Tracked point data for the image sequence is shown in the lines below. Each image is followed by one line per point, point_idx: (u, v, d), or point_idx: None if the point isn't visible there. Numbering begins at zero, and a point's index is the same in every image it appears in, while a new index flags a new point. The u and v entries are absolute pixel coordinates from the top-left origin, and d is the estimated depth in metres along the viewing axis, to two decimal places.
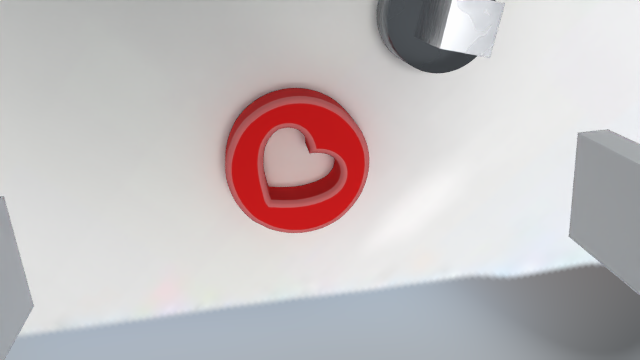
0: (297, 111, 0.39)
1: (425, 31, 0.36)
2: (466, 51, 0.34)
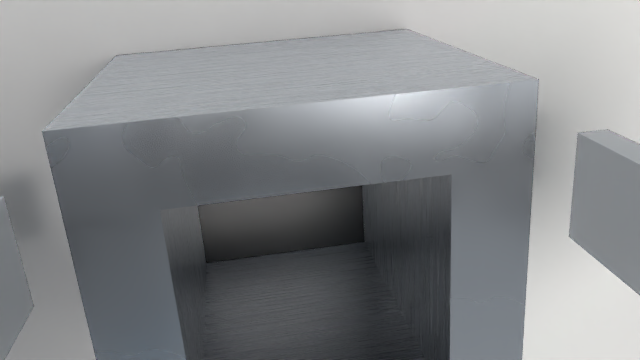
0: None
1: None
2: None
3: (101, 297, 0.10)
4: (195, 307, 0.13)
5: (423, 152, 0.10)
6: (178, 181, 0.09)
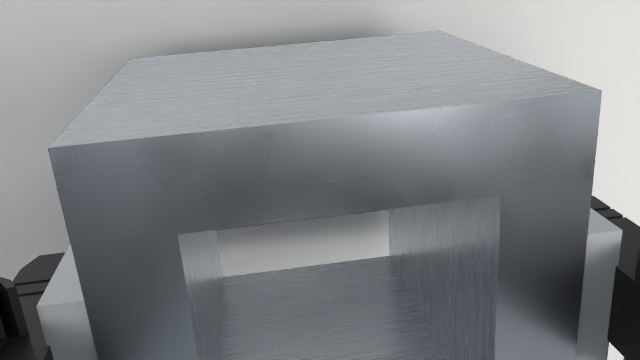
0: None
1: None
2: None
3: (112, 328, 0.09)
4: (213, 331, 0.12)
5: (470, 171, 0.09)
6: (198, 203, 0.08)
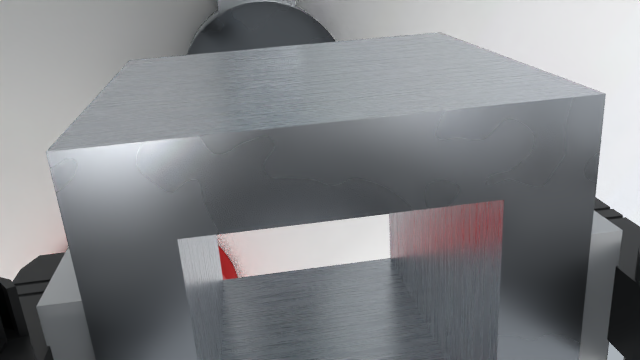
0: None
1: None
2: None
3: (112, 334, 0.09)
4: (213, 335, 0.12)
5: (473, 175, 0.09)
6: (198, 207, 0.08)
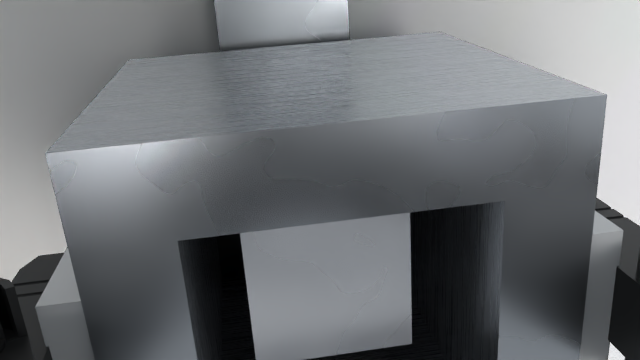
0: None
1: None
2: (337, 350, 0.12)
3: (112, 336, 0.09)
4: (213, 335, 0.12)
5: (474, 176, 0.08)
6: (198, 209, 0.08)
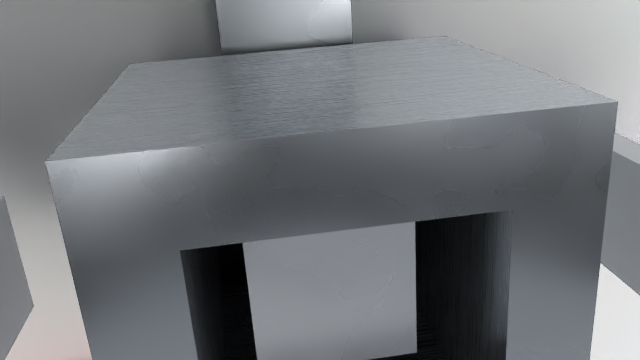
0: None
1: None
2: (341, 359, 0.11)
3: (112, 347, 0.08)
4: (215, 344, 0.12)
5: (482, 184, 0.08)
6: (201, 218, 0.08)
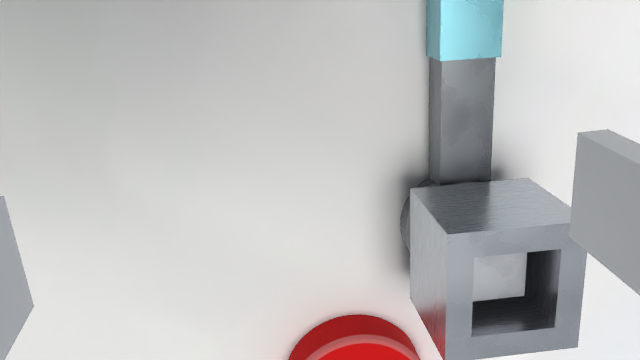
0: (346, 352, 0.40)
1: None
2: (499, 296, 0.34)
3: (452, 283, 0.31)
4: None
5: (553, 242, 0.31)
6: (481, 249, 0.30)
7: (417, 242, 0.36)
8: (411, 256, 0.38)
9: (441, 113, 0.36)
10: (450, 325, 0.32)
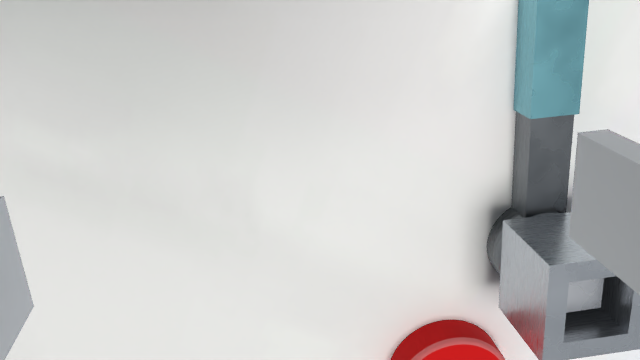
0: (445, 352, 0.48)
1: None
2: (581, 309, 0.42)
3: (551, 303, 0.39)
4: None
5: None
6: (574, 276, 0.39)
7: (510, 264, 0.44)
8: (502, 274, 0.46)
9: (529, 159, 0.44)
10: (547, 334, 0.40)
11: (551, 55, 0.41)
